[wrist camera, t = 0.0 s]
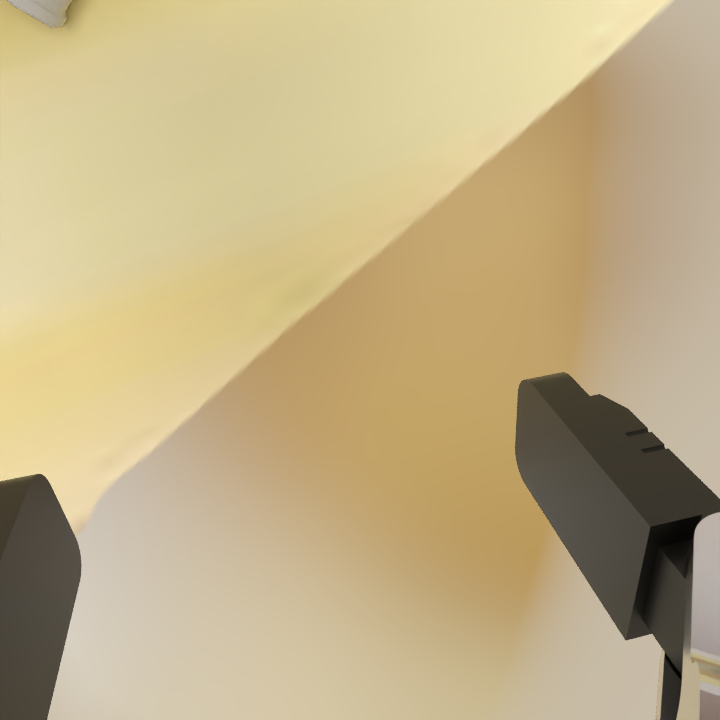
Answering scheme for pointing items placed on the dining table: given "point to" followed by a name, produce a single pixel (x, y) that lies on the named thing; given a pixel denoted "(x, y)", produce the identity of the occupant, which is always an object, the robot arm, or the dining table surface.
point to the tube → (44, 10)
